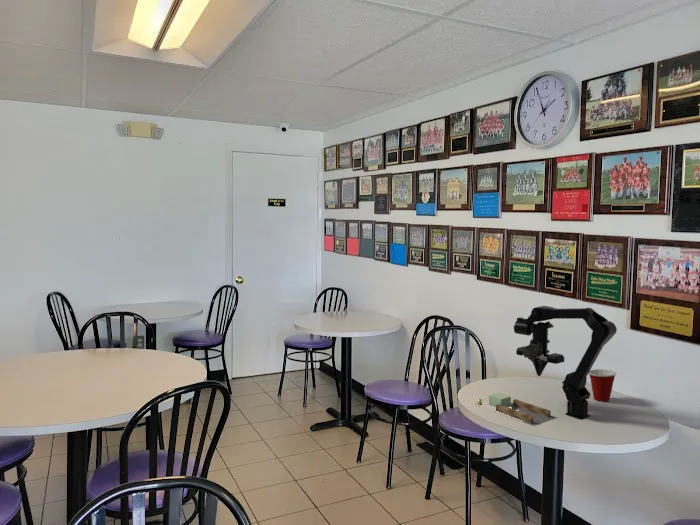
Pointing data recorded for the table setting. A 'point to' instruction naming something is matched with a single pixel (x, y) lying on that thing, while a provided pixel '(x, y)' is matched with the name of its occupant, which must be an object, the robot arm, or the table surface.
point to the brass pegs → (479, 401)
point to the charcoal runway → (534, 416)
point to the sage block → (499, 400)
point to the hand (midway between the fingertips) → (538, 375)
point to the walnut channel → (526, 407)
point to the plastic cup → (602, 383)
